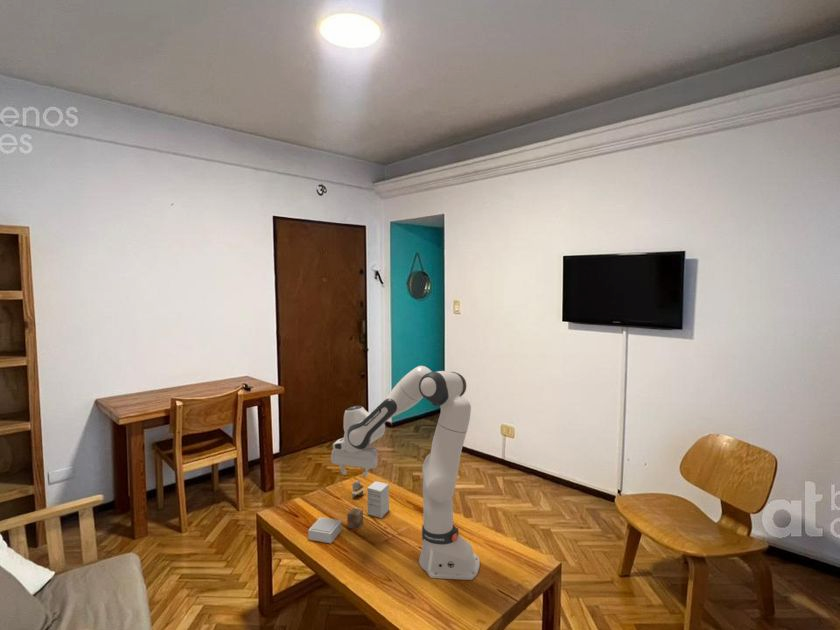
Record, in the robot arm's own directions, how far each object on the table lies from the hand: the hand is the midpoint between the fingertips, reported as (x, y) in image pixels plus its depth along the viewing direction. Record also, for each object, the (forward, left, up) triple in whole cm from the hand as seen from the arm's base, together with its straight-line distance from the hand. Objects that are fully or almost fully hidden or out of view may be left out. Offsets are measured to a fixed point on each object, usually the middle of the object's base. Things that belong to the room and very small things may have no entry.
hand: (354, 475), depth 191 cm
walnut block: (0, 0, -22) cm, 22 cm away
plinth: (+9, +10, -22) cm, 26 cm away
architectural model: (+9, -24, -23) cm, 34 cm away
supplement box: (-6, -12, -22) cm, 26 cm away
